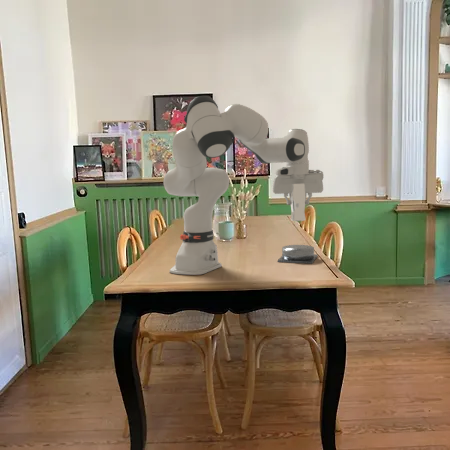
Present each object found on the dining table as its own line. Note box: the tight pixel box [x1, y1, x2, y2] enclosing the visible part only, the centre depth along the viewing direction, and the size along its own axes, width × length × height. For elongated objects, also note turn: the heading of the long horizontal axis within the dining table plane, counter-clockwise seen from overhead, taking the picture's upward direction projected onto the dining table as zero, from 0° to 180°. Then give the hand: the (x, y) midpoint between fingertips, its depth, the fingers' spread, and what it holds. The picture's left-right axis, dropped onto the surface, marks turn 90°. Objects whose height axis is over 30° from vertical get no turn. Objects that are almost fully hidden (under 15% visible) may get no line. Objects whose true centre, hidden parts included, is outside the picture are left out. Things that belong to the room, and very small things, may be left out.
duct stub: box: [277, 244, 319, 265], centre depth 201 cm, size 14×14×5 cm
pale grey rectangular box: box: [288, 183, 308, 222], centre depth 198 cm, size 7×7×15 cm
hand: (297, 204), depth 198 cm, fingers closed on pale grey rectangular box, 6 cm apart
